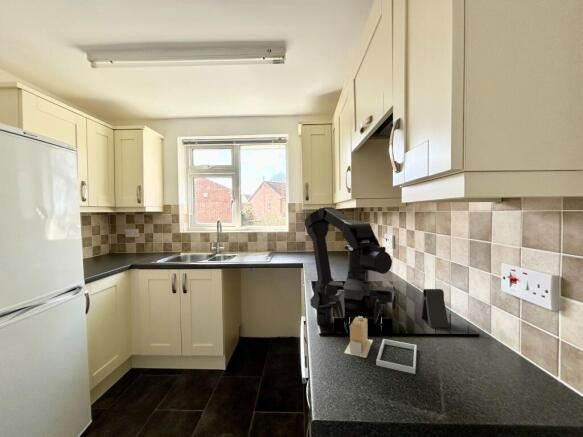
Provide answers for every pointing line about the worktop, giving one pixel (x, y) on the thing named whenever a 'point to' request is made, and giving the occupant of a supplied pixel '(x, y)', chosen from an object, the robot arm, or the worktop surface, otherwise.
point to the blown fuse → (359, 331)
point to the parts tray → (394, 365)
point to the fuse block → (358, 348)
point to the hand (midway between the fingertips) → (358, 320)
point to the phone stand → (434, 309)
